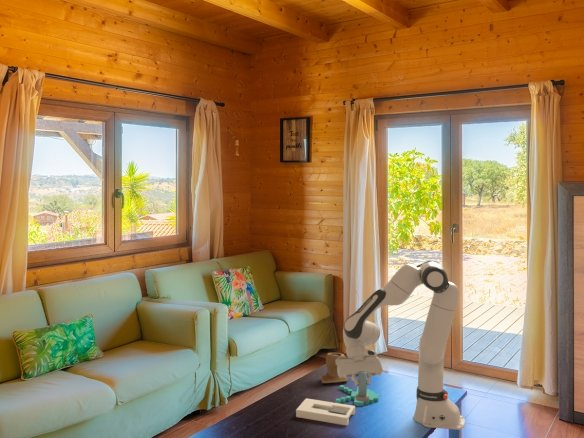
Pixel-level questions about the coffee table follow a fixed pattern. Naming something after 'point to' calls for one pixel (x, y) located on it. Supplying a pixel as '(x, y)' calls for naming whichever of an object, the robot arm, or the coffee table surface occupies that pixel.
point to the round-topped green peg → (362, 387)
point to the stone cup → (332, 369)
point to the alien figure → (372, 396)
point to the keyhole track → (325, 411)
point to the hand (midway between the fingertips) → (362, 384)
